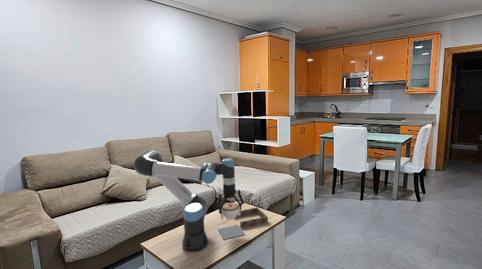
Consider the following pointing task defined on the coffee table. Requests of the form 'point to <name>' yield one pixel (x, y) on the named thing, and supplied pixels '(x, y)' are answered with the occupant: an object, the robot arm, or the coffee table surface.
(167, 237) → the coffee table surface
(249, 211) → the walnut holder
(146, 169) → the robot arm
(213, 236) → the coffee table surface
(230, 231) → the grey mat
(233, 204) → the lidded jar
